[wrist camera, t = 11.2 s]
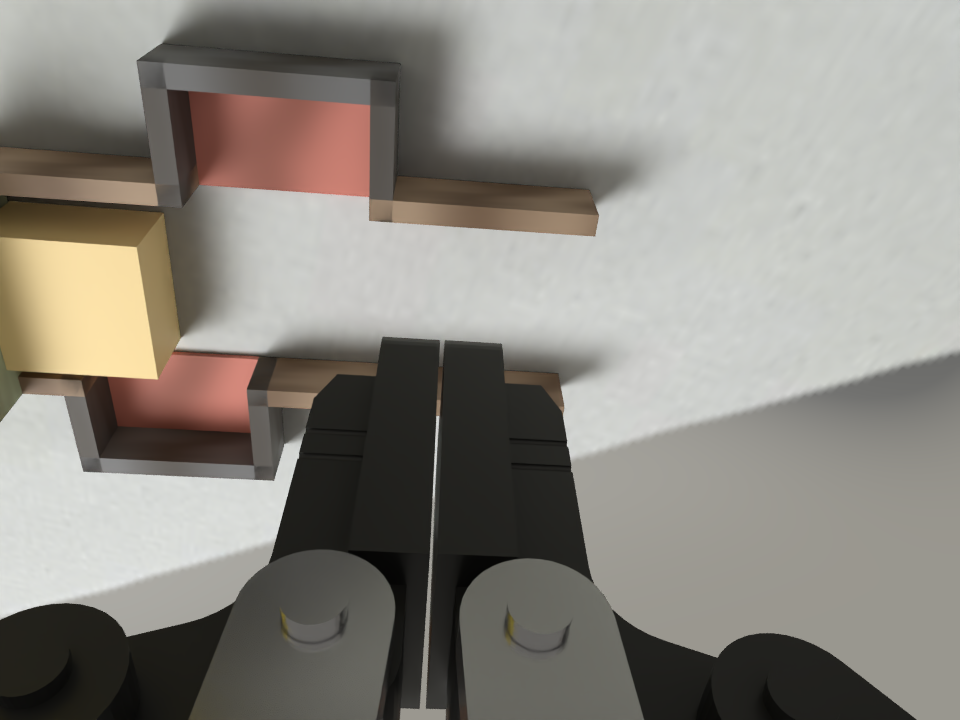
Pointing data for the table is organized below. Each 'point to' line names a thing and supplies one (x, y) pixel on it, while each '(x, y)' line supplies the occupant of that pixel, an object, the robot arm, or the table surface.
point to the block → (85, 291)
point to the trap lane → (258, 165)
